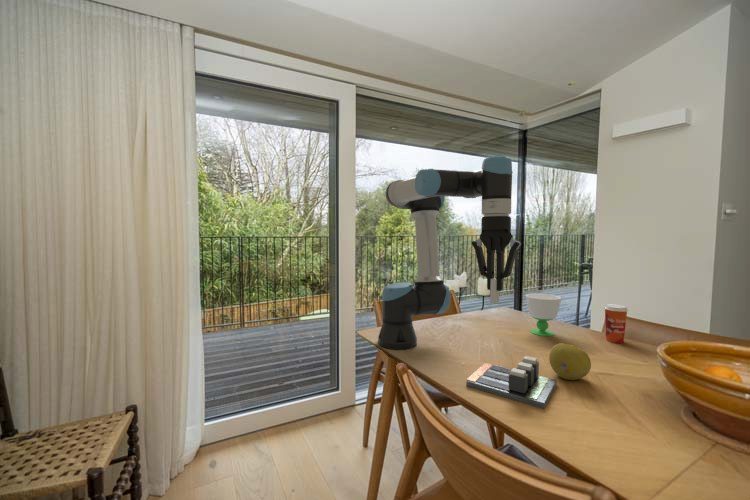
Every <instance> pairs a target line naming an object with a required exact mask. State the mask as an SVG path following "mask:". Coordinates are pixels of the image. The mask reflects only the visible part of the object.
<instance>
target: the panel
mask: <svg viewBox="0 0 750 500" xmlns="http://www.w3.org/2000/svg"><path fill="white" fill-rule="evenodd" d="M512 369H513V368H509V367H505V366H500V365H497V364H492V363H487V362H485V363H483V364H482V365H481V366H480V367H478V369H476V370H475V371H474V372H473V373H472V374H471V375H470V376H468V378H466V380H465V381H466V382H465V383H466V384H465V385H466V387H468V388H471V389H475V390H479V391H483V392H486V393H489V394H492V395H496V396H499V397H503V398H506V399H509V400H513V401H516V402H519V403H522V404H526V405H529V406H533V407H536V408H539V409H541V410H542V409H543V410H544V409H545V407H546V406H547V404H548V402H549V400H550V398H551V396H552V395H553V392H554V391H555V389H556V387H557V379H554V378H551V377H547V376H543V375H542V376H541V375H538V377H537V378H536V379H534V383H533V384H532V386H529V385H528V389H527V391H526V392H525V394H524V393H520V392H517V391H513V390H510V389H508V387H509V374H510V372H511V370H512Z"/></svg>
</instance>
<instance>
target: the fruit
mask: <svg viewBox="0 0 750 500" xmlns="http://www.w3.org/2000/svg"><path fill="white" fill-rule="evenodd" d="M548 359H549V364H550V366H551V368H552V370H553V371H554V373H555V374H556V375H558V376H559V377H560V378H562V379H564V380H569V381H574V380H575V381H576V380H581V379H583V378H585V377H586V376H587V375H588V374H589V373H590V371H591V368H592V361H591V358H590V356H589V354H588V353H586V351H585V350H584V349H582V348H579V347H578V346H576V345H571V344H567V343H563V342H559V343H558V344H557V343H556V344H555V345H554V346H552V348H551V350H550V352H549V356H548Z"/></svg>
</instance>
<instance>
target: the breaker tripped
mask: <svg viewBox="0 0 750 500" xmlns="http://www.w3.org/2000/svg"><path fill="white" fill-rule="evenodd" d="M511 369H512V370H511V372H510V374H509V387H508V389H510V390H513V391H517V392H520V393H524V394H525V392H526V391H527V389H528V374H526V371H525V370H521V369H516V367H513V368H511Z"/></svg>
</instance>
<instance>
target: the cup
mask: <svg viewBox="0 0 750 500" xmlns="http://www.w3.org/2000/svg"><path fill="white" fill-rule="evenodd" d="M525 300H526V303H527V308H528V313H529V315H530V317H532V318H533V319H535V320H537V322H536V327H537V328H536V329H531V330H530V333H531V334H533V335H534V336H535V335H536V336H540V337H553V336H554V335H555V333H554V332H553V331H550V330H548V329H549V323H548V322H549V321H552V320H554V319H556V318H557V316H558V313H559V309H560V305H561V302H562V297H561V296H559V295H555V294H550V293H542V292H541V293H540V292H539V293H537V292H536V293H535V292H534V293H533V292H532V293H527V294H525Z"/></svg>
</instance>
